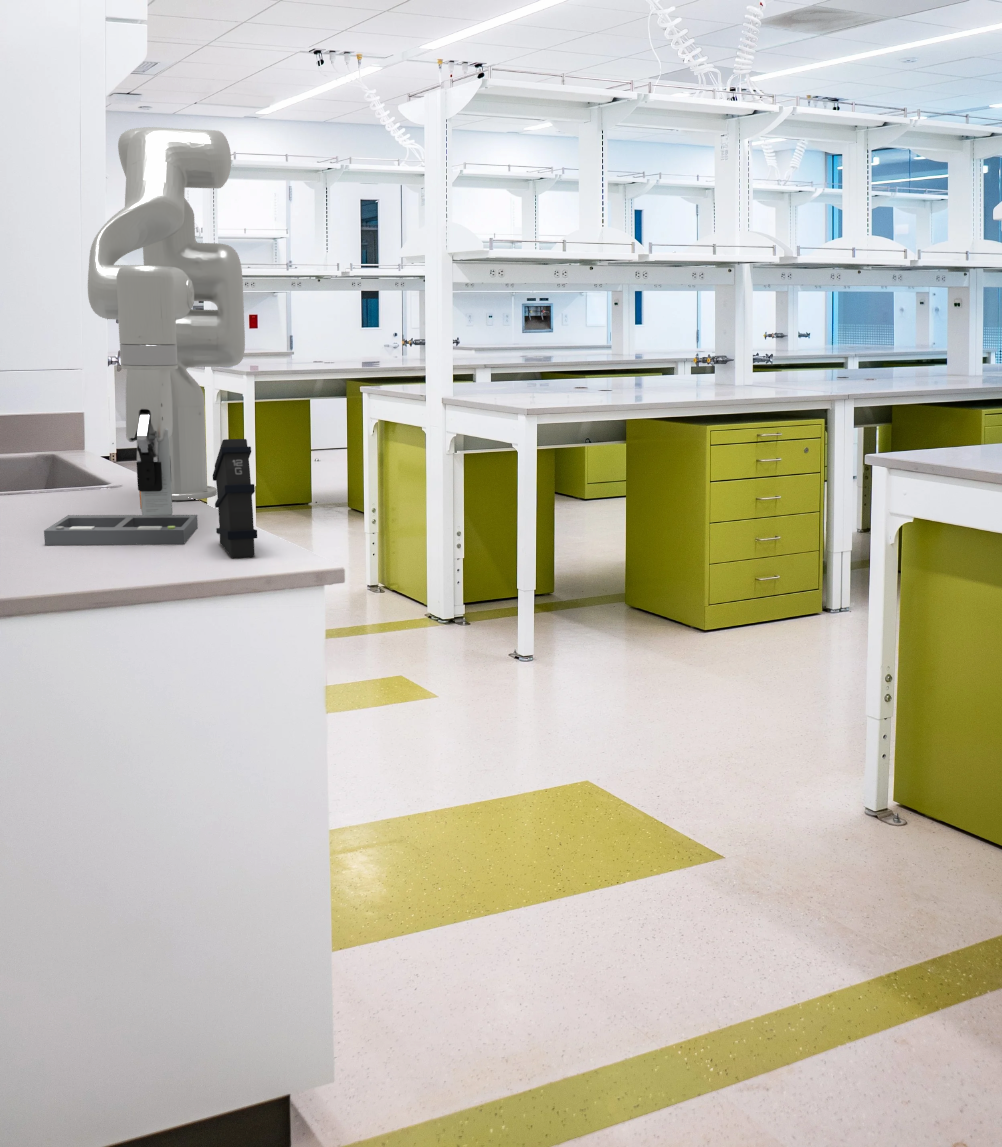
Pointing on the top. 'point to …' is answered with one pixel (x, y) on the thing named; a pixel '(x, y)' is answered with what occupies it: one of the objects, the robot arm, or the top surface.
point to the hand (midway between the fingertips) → (155, 486)
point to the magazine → (235, 498)
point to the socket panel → (121, 530)
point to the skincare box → (162, 499)
